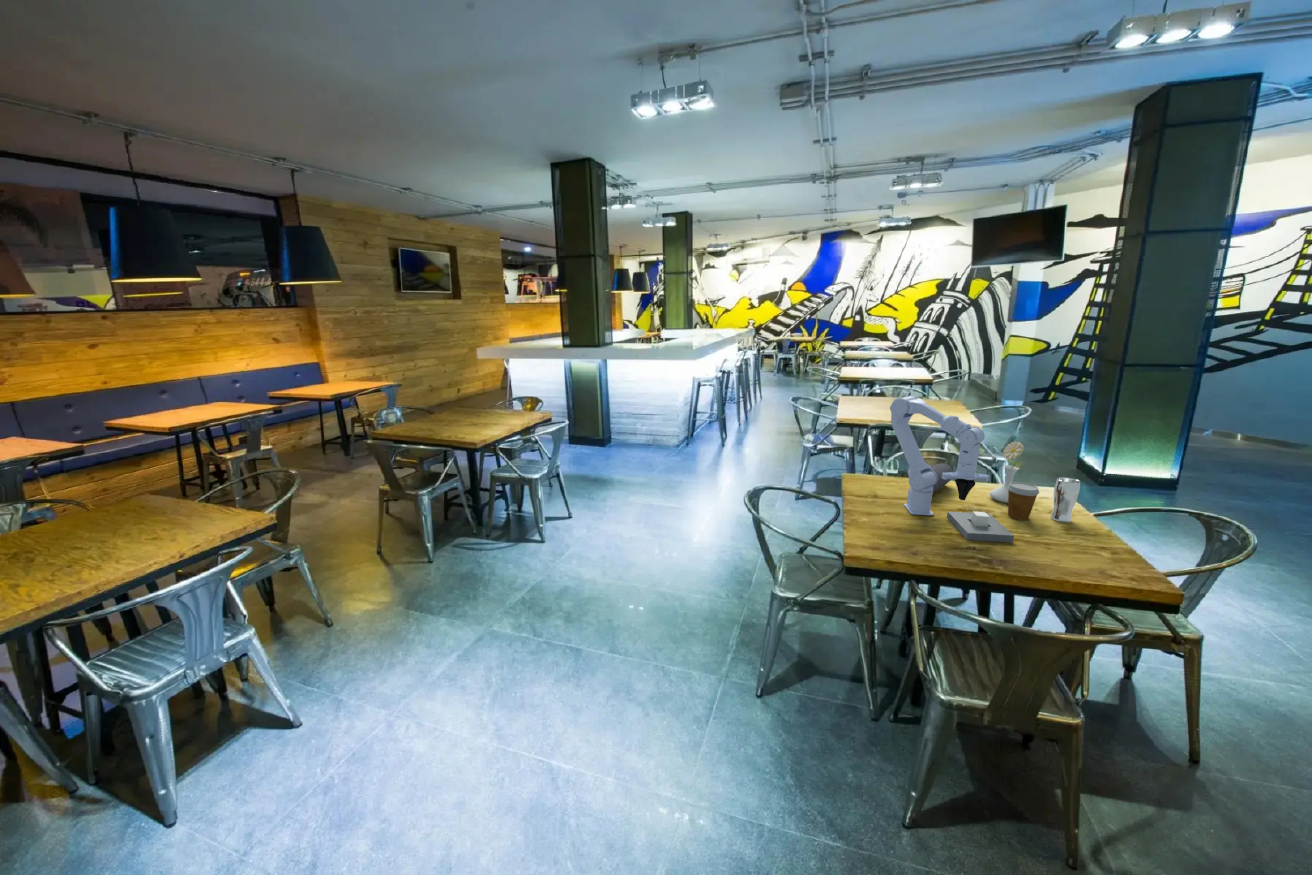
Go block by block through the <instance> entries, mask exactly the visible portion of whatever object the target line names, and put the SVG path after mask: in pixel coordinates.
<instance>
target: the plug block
mask: <svg viewBox="0 0 1312 875" xmlns="http://www.w3.org/2000/svg"><path fill="white" fill-rule="evenodd" d="M971 513H972V517H971V524H972V525H973V526H986V527H988V524H989V519H990V516H989V515H988V514H989V513H986V511H971Z"/></svg>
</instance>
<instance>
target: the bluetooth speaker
mask: <svg viewBox="0 0 1312 875" xmlns="http://www.w3.org/2000/svg"><path fill="white" fill-rule="evenodd" d="M931 469H932V470H933V471H934V472H935V473H936V474H937V477H938V481H937V483H936V484H935V485H933V494H934V492H935V493H936V492H937V491H939V490H941V489H943V488H944V487H945V486H946V485H948V483H949V482H950V481H952V479H946V480H944V479H942V473H948V472H954V470H953V468H952V467H951V465H949V464H947V463H943V462H942V463H936V464H934V465H932V466H931Z"/></svg>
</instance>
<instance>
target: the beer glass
mask: <svg viewBox="0 0 1312 875" xmlns="http://www.w3.org/2000/svg"><path fill="white" fill-rule="evenodd" d="M1055 482H1056V483H1055V484H1054V485H1055V486H1054V490H1053V509H1052V512H1051V514H1050V519H1051V520H1053V521H1055V522H1059V523H1065V524H1066V523H1071V522H1072V512H1073V508H1074V507H1075V505H1076V503H1077V501H1078V497H1079V494H1080V488H1081V481H1080V480H1079V479H1076V478H1073V477H1065V476H1062V477H1061V476H1059V477H1057V478H1056V481H1055Z"/></svg>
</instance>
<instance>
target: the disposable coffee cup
mask: <svg viewBox="0 0 1312 875" xmlns="http://www.w3.org/2000/svg"><path fill="white" fill-rule="evenodd" d="M1007 488H1008V490H1009V492H1008V503H1007V515H1008V517H1009V518H1011V519H1014V520H1019V521H1026V520H1027V521H1029V519H1030V516H1031V513H1032V510H1033V507H1034V504H1035V502H1036V499H1037V496H1038V495H1039V494H1040V491H1039V487H1038V486H1036V485H1034V484H1031V483H1027V482H1022V481H1012V483H1010V484H1009V486H1008V487H1007Z"/></svg>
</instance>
